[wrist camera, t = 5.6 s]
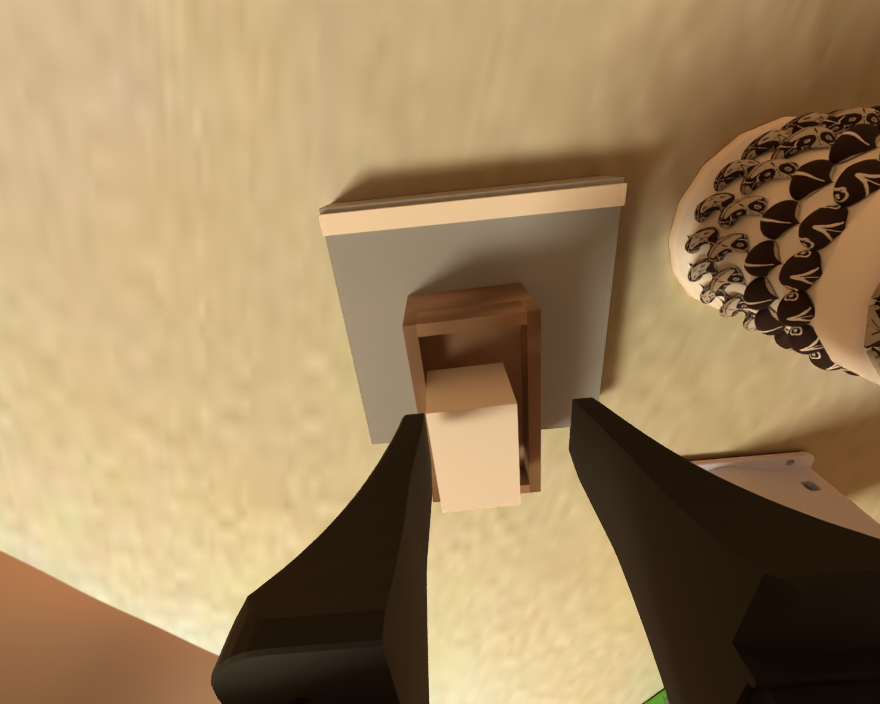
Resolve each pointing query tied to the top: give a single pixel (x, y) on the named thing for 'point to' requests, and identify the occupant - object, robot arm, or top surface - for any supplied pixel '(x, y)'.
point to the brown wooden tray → (482, 354)
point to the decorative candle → (792, 236)
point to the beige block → (473, 437)
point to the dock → (478, 278)
